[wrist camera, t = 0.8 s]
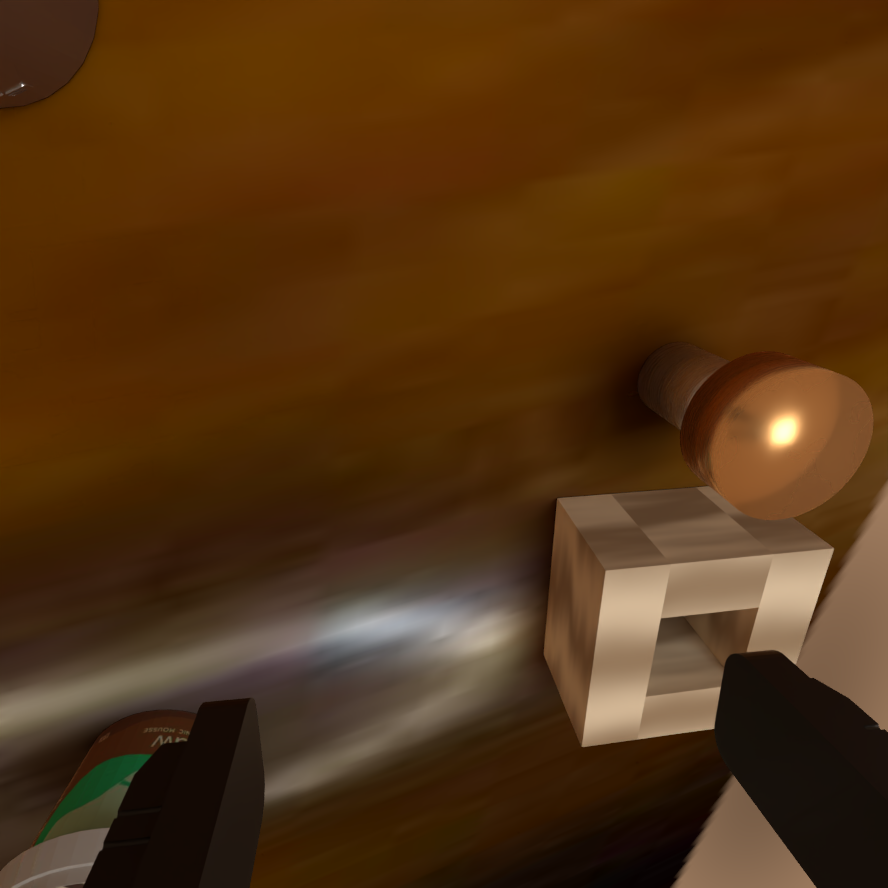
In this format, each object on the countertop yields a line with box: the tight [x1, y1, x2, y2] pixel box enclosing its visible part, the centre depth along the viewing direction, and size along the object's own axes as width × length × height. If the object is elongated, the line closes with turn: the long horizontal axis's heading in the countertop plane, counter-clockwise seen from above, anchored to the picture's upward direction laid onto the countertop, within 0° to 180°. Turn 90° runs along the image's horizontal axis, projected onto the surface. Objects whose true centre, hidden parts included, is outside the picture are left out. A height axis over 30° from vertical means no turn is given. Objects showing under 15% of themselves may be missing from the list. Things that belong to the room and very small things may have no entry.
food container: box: [0, 710, 197, 888], centre depth 31 cm, size 12×6×10 cm, turn 67°
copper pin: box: [637, 342, 873, 520], centre depth 26 cm, size 6×6×10 cm
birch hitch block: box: [544, 486, 834, 747], centre depth 33 cm, size 12×12×7 cm
